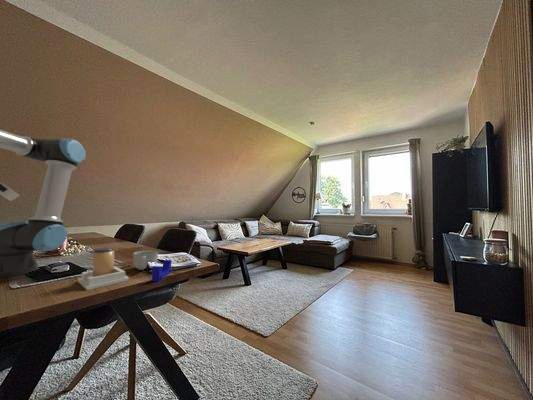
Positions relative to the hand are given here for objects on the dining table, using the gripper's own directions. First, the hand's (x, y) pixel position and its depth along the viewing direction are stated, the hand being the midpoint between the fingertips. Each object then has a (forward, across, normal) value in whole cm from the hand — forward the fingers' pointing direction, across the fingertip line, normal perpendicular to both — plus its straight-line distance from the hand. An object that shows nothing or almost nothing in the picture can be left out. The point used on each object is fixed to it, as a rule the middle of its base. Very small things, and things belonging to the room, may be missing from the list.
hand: (14, 198), depth 81 cm
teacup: (+54, +6, +6) cm, 55 cm away
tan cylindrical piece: (+40, +11, -6) cm, 42 cm away
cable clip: (+54, +23, +6) cm, 59 cm away
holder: (+41, +11, -6) cm, 43 cm away
